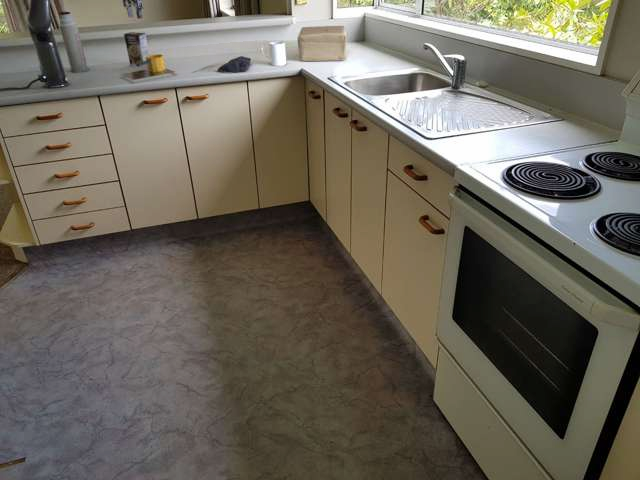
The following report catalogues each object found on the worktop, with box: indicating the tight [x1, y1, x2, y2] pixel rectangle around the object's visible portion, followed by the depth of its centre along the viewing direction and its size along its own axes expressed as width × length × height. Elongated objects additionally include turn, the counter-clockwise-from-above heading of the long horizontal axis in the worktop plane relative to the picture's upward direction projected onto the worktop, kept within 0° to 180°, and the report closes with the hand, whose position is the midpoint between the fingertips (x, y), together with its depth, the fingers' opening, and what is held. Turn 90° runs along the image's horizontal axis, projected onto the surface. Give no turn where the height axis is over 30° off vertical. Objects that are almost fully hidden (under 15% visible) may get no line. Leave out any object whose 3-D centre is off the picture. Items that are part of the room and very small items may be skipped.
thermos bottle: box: [58, 11, 89, 73], centre depth 257 cm, size 8×8×28 cm
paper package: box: [297, 25, 347, 62], centre depth 275 cm, size 27×26×14 cm
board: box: [120, 68, 175, 81], centre depth 250 cm, size 22×16×2 cm
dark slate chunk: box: [217, 55, 252, 73], centre depth 260 cm, size 15×22×5 cm
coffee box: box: [123, 31, 150, 66], centre depth 267 cm, size 9×6×16 cm
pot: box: [135, 54, 167, 72], centre depth 250 cm, size 17×8×6 cm, turn 157°
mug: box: [260, 41, 287, 67], centre depth 263 cm, size 12×8×10 cm, turn 87°
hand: (135, 17), depth 245 cm, fingers open, 8 cm apart
